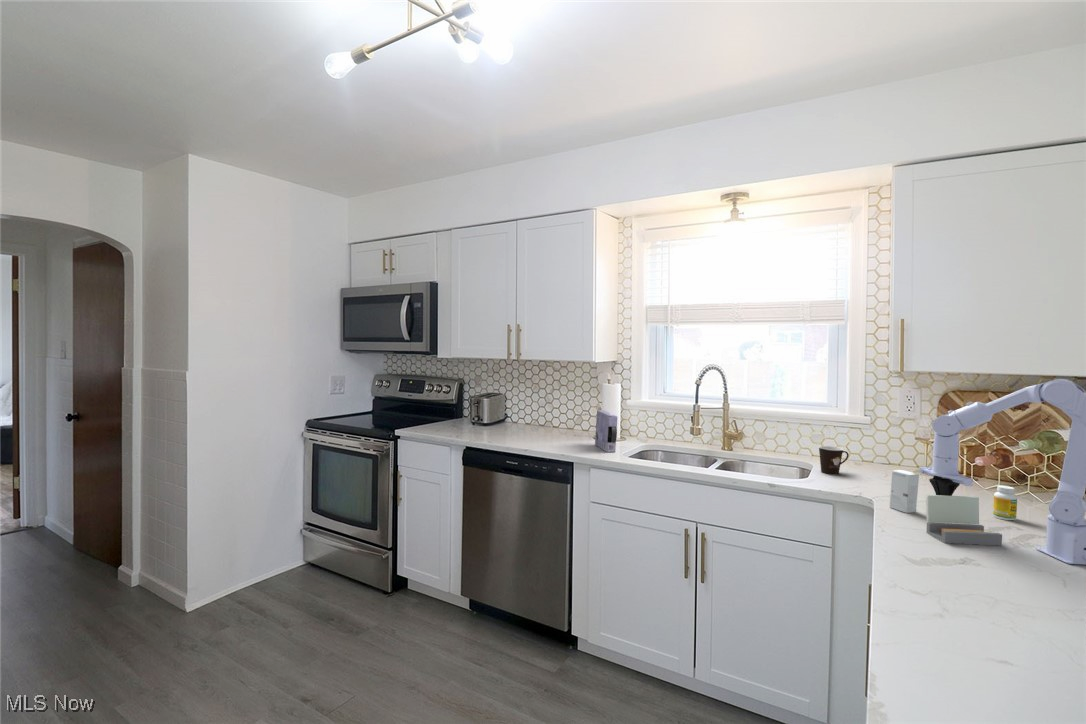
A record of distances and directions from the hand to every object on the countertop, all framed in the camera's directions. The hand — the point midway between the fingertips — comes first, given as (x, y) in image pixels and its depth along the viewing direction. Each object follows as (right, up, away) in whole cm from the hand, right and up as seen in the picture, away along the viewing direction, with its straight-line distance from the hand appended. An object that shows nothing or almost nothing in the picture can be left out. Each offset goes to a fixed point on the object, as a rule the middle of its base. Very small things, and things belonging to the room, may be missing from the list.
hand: (943, 504), depth 149 cm
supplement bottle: (+27, -7, +11) cm, 30 cm away
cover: (0, 0, -4) cm, 4 cm away
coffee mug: (+5, -5, +65) cm, 65 cm away
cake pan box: (-84, -2, +104) cm, 134 cm away
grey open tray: (-1, -7, -8) cm, 11 cm away
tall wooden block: (-1, -7, -8) cm, 11 cm away
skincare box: (0, -7, +17) cm, 18 cm away
